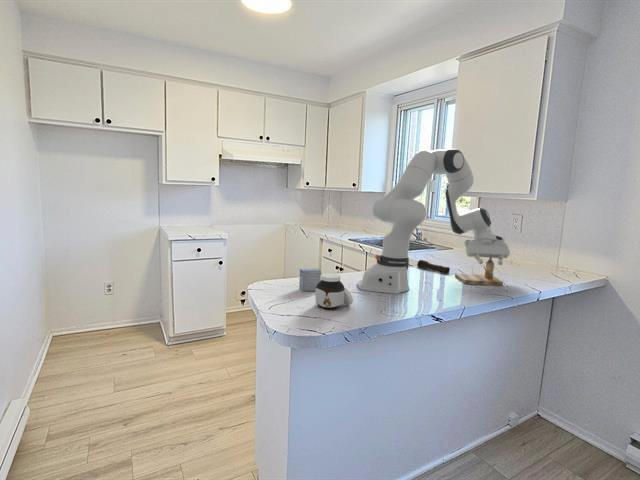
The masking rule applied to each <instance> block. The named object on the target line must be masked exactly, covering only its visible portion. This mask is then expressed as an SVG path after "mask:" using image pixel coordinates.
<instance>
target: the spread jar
mask: <svg viewBox="0 0 640 480" xmlns="http://www.w3.org/2000/svg"><path fill="white" fill-rule="evenodd" d="M314 295H315V297H314V298H315V303H316V304H317V306H318V307H319V308H320V309H322V310H326V311H334V310H338V309H340V308H341V307H342V306H343V305H345V306H351V305H352V304H353V302H354V300H353V299H354V298H353V295H352V293H351V292H350V291H349V289H348V288H346V287H345V285H344V284H343V282H342V281H341V275H340V274H337V273H330V272H329V273H328V272H326V273H325V272H324V273H321V281H320V282H319V283H318V284H317V286H316V291H315V294H314Z"/></svg>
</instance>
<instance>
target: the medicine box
mask: <svg viewBox="0 0 640 480" xmlns="http://www.w3.org/2000/svg"><path fill="white" fill-rule="evenodd" d="M321 275H322V271H321V270H320V269H319V268H317V267H315V268H314V267H313V268H300V269H299V286H298V287H299V290H300V291H301V292H314V291H315V292H316V286H317V284H318V283H319V282H320V281H321Z"/></svg>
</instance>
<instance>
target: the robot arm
mask: <svg viewBox="0 0 640 480" xmlns="http://www.w3.org/2000/svg"><path fill="white" fill-rule="evenodd" d="M432 175H445V176H446V179H447V182H448V187H447V188H446V190H445V198H446V199H445V200H446V205H447V210H448V215H449V223H450V224H449V225H450V228H451V230H452V233H455V234H458V235H462V234H465V233H468V232H470V231H471V232H472V233H473V238H474V239H467V240H465V241H464V246H465V251H466V252H465V254H466V256H467V257H471V258H475V260H476V261H477V263H478V264H479V265H482V264H483V263H484V260H483V259H482V258H490V255H492V259H493V258H494V259H498V260H497V265H499V266H502V265H503V262H504V261H503V259H507V258H508V257H509V256H510V254H511V252H510V249H509V246H508V243H506V242H505V238H504V237H503V236H499V235H497V234H494V233H493V232H492V228H491V224H492V221H491V217H490V214H489V212H488V210H486V209H485V208H481V207H477V208H475V209H474V208H473V209H471V210H468V211H465V212H463V213H459V212H458V209H457V205H456V203H457V201H458V200H459V199H460V198H461V197H462V196H463V195H465V194H467V192H469V190H471V188H472V186H473V185H474V179H475V178H474V175H473V172H472V169H471V167H470V165H469V163H468V161H467V159H466V158H465V157H464V154H463V152H462V151H461V150H460V149H457V148H449V149H448V148H447V149H446V148H444V149H435V150H427V149H422V150H419V151H417V152H416V153H415V154H414V156H413V157H412V158H411V160H410V161H409V163H408V164H407V166H406V168H405V170H404V171H403V174H402V175H401V176H400V179H399V181H398V182H397V183H396V185H395V186H394V187H393V188H392V189H391V190H389V192H388V193H387V194H386V195H384V196H382V197H381V198H378V199H377V200H376V201H375V202H374V203H373V206H372V215H373V216H374V218H375V219H376V220H378V221H380V222H382V223H386V224H392V228H391V230H390V231H389V232H388V233H387V234H386V235H384V237H383V239H382V251H381V254H380V255H379V254H377V253H376V254H375V255H374V257H375V260H376V263H375V264H373V265H372V266H371V267H369V268H367V269H366V270H365V271H364V273H363V276H362V279H359V280H358V281H357V283H356V285H357V288H358V289H360V290H362V291H365V292H366V291H367V292H377V293H386V294H396V295H398V294H401V293H403V292H408V291H409V290H410V286H409V279H408V270H409V265H410V259H409V258H410V257H409V250H410V242H411V238H412V235H413V233H414V232H415V230H416V228H417V227H419V226H420V225H422V224H423V222H424V221H425V219H426V217H427V209H426V207H425V205H424V204H423V202H420V201H417V200H415V199H416V198H418V197H420V196H421V195H422V194H423V192H424V190H425V189H426V186H427V185H428V183H429V181H430V179H431V177H432Z"/></svg>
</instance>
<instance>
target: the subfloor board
mask: <svg viewBox="0 0 640 480" xmlns="http://www.w3.org/2000/svg"><path fill="white" fill-rule="evenodd" d="M454 278H456V279H457V280H458V281H460V282H461V283H462V284H464V285H479V286H481V285H482V286H501V287H502V286H504V281H503V280H501V279H499V278H497V277H495V276H494V275H493V278H492V279H490V278H485V273H479V274H474V273H473V274H472V273H455V274H454Z"/></svg>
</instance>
